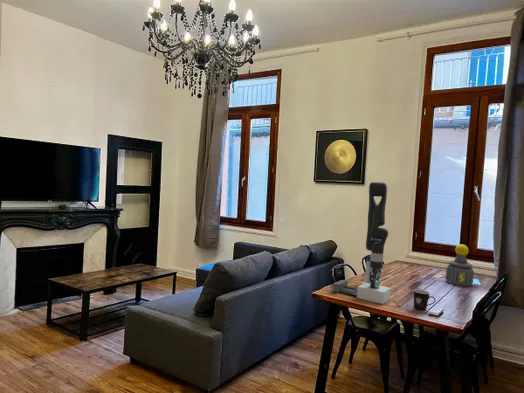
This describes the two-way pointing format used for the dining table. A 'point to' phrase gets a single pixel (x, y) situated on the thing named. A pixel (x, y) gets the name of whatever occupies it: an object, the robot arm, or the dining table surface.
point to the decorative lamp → (460, 268)
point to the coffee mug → (421, 299)
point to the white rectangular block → (373, 293)
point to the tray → (344, 287)
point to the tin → (376, 284)
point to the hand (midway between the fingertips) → (374, 287)
